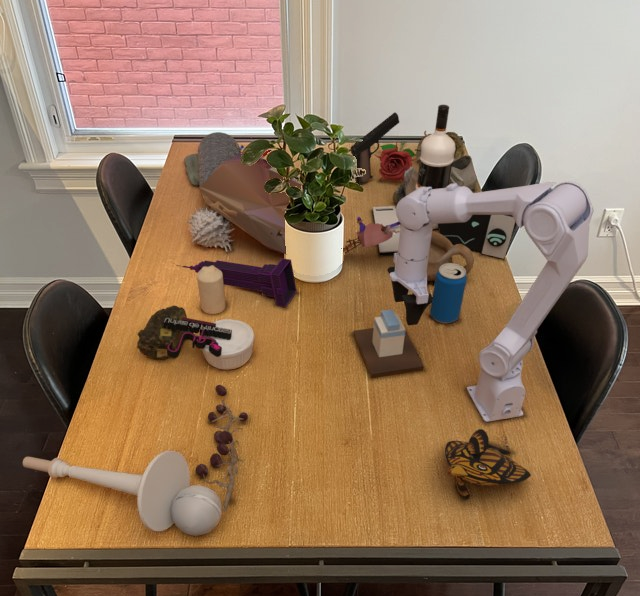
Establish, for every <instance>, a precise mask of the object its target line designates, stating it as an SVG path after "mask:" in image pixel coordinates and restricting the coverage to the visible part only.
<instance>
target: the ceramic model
mask: <svg viewBox="0 0 640 596" xmlns="http://www.w3.org/2000/svg"><path fill="white" fill-rule="evenodd" d="M431 134H432V133H428V134H427V135H431ZM446 135H448V136H449V137H450V138H451V139H453V141H454V143H455V148H456V149H455V153H454V160H456V159H458V158H460V157H462V156H465V155H466V149H465V147H464V143H463V140H462V138H460V136H459V135H458V133H456V132H455V131H446ZM423 137H427V136H425V135H424V136H423ZM421 140H423V139H422V138H420V140H419V142H418V144H417V146H416V149H418V150H421V144H422V143H421ZM415 152H416V153H415V157H416V161H418V160H420V155H421V152H420V151H415ZM454 160H453V161H454ZM418 163H420V161H419V162H418Z"/></svg>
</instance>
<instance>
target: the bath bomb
mask: <svg viewBox="0 0 640 596" xmlns="http://www.w3.org/2000/svg"><path fill="white" fill-rule="evenodd" d="M222 513H223V504H222V501H221V498H220V497H219V495H218V494H217V492H215V491H214V490H213V489H211V488H210V487H208V486H206V485H202V484H201V485H200V484H193V485H190V486H189V487H186V488H185V489H183V490H181V491H180V492H179V493H178V494H177V495H176V497H175V499H174V501H173V503H172V508H171V514H172V519H173V521H174V525H175V526H176V528H177V529H178V530H179V531H181V532H182V533H184V534H186V535H189V536H193V537H194V536H196V537H197V536H205V535H206V534H209V533H210V532H212V531H213V530H214V529H215V528H216V527H217V526H218V525H219V523H220V521H221V519H222Z"/></svg>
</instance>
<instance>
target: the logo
mask: <svg viewBox="0 0 640 596" xmlns="http://www.w3.org/2000/svg"><path fill="white" fill-rule="evenodd" d="M166 326H167V329H174V331H176V330H180V331H185V333H183V334H182V335H181V337H180V341H179V344H178V347H177V349H176V350H175V351H173V350H172V342H170V343H169V344H168V345H167V355H168V358H171V359H177V358H178V357H180V355H181V352H182V349H183V345H184V342H185V341H188V340H189V341H191V347H192V349H195V347H196V349H198V350H202V349H203V348H205V346H206V345H209V352H210V353H212V354H213V355H214V356H216V357H219V356H220V355H221V353H222V347H221V346H219V345H218V342H216V340H215V339H213V338H208V336H214V337H218V338H223V339H227V340H230V339H231V336H232V330H230V329H225V328H224V329H223V328H218V327H216V323H213V322H210V321H205V320H200V319H194V318H189V317H187V318H184V317H183V318H182V320H178V322H177V319H172V318H171V319H170V318H165V319H164V329H166ZM188 329H189V332H187V331H188ZM199 334H200V336H199ZM204 335H206V336H207V337H204Z"/></svg>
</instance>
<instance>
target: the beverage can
mask: <svg viewBox="0 0 640 596" xmlns="http://www.w3.org/2000/svg"><path fill="white" fill-rule="evenodd" d="M467 280H468V274H467V275H466V270H465V268H464V266H462V265H461V264H458V263H454V262H453V263H447V264H443V265H442V266H440V268H439V270H438V271H437V273H436V278H435V281H434V284H433V291H432V297H433V301H432V303H431V304H430V310H429V314H430V316H431V318H432V319H433V320H435V321H436V322H438V323H441V324H451V323H454V322H456V321H458V319H459V318H460V314H461V310H462V304H463V299H464V295H465V290H466V285H467Z"/></svg>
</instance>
